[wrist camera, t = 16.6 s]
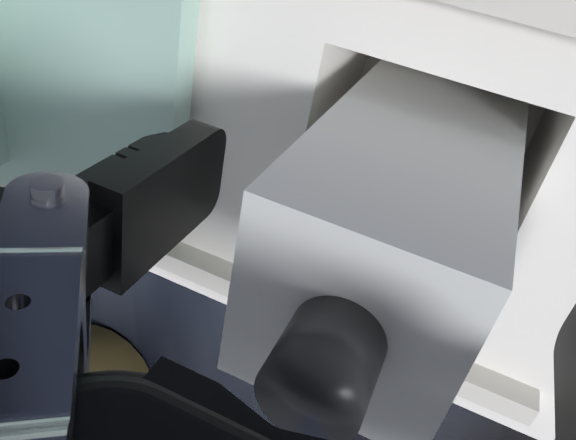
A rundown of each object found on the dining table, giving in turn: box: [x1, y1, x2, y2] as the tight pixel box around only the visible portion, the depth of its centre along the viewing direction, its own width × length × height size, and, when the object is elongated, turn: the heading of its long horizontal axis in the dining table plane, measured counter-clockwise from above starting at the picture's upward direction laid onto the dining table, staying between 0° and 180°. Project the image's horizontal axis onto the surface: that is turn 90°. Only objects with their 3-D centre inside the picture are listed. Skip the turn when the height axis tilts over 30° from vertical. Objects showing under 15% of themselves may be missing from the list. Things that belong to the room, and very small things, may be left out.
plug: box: [217, 59, 529, 440], centre depth 12 cm, size 4×4×12 cm
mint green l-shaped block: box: [0, 0, 200, 186], centre depth 13 cm, size 7×8×4 cm
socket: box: [0, 0, 576, 440], centre depth 16 cm, size 20×12×7 cm, turn 79°
